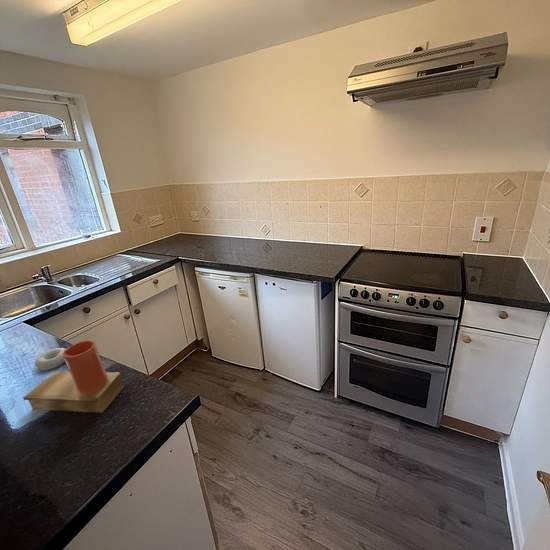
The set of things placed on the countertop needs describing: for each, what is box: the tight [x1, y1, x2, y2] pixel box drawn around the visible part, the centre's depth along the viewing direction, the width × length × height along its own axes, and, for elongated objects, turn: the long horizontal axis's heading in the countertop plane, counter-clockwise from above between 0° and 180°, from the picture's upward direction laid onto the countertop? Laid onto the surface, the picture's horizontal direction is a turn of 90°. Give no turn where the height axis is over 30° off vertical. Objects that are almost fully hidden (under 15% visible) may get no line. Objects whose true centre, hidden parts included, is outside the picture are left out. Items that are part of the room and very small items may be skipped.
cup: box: [63, 339, 108, 394], centre depth 81 cm, size 7×7×12 cm
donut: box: [34, 347, 66, 371], centre depth 103 cm, size 10×4×10 cm
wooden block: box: [22, 370, 126, 414], centre depth 85 cm, size 22×11×5 cm, turn 82°
